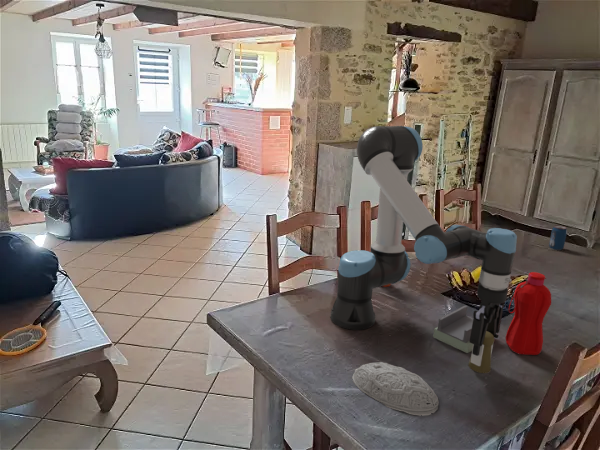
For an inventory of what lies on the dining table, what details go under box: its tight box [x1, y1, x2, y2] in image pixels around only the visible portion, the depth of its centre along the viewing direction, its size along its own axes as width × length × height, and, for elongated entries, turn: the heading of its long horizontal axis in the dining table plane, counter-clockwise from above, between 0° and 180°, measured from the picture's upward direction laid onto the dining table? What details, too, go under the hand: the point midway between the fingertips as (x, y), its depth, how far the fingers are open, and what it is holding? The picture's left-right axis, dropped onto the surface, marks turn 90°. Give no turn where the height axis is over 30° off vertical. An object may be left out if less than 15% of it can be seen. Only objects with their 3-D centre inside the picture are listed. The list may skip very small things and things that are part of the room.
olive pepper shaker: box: [467, 331, 495, 374], centre depth 129 cm, size 6×6×11 cm
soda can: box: [548, 224, 568, 251], centre depth 238 cm, size 7×7×12 cm
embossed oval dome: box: [351, 361, 440, 416], centre depth 119 cm, size 16×25×7 cm, turn 54°
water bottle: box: [505, 271, 552, 356], centre depth 137 cm, size 9×11×25 cm
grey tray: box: [432, 304, 473, 354], centre depth 145 cm, size 16×12×7 cm
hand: (480, 360), depth 129 cm, fingers closed on olive pepper shaker, 5 cm apart
